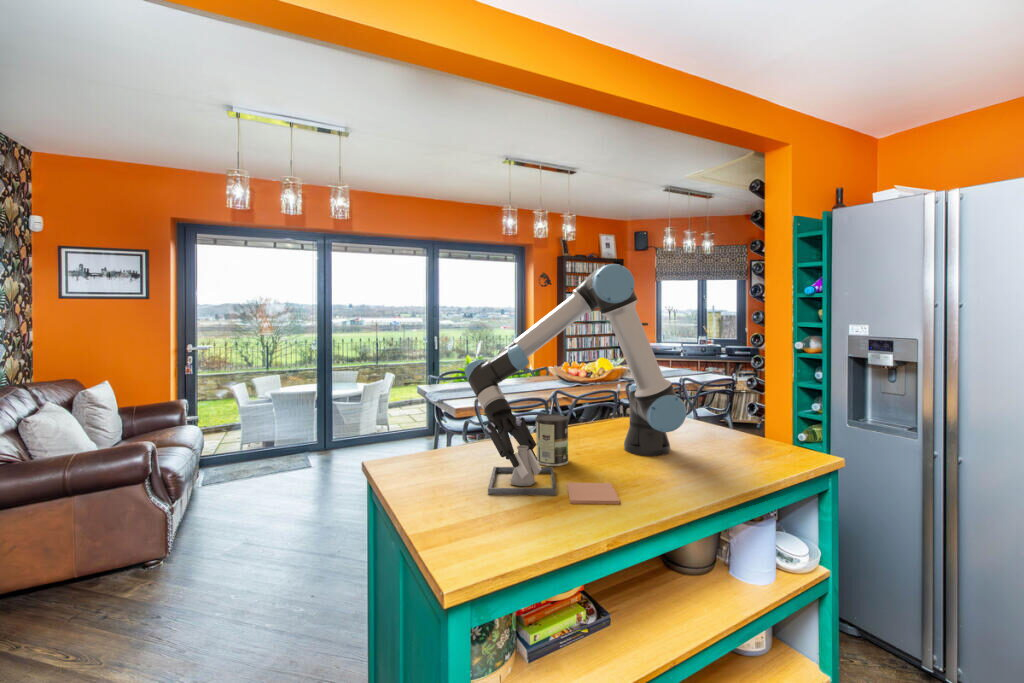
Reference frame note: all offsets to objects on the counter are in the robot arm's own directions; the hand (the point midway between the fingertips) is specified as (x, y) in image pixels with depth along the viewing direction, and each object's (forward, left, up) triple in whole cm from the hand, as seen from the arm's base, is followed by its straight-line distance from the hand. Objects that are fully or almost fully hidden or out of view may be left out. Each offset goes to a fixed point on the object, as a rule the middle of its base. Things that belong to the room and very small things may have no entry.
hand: (531, 474), depth 123 cm
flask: (+2, -3, -4) cm, 5 cm away
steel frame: (+2, -3, -3) cm, 5 cm away
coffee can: (-7, -22, -4) cm, 23 cm away
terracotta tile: (-16, +5, -3) cm, 17 cm away
